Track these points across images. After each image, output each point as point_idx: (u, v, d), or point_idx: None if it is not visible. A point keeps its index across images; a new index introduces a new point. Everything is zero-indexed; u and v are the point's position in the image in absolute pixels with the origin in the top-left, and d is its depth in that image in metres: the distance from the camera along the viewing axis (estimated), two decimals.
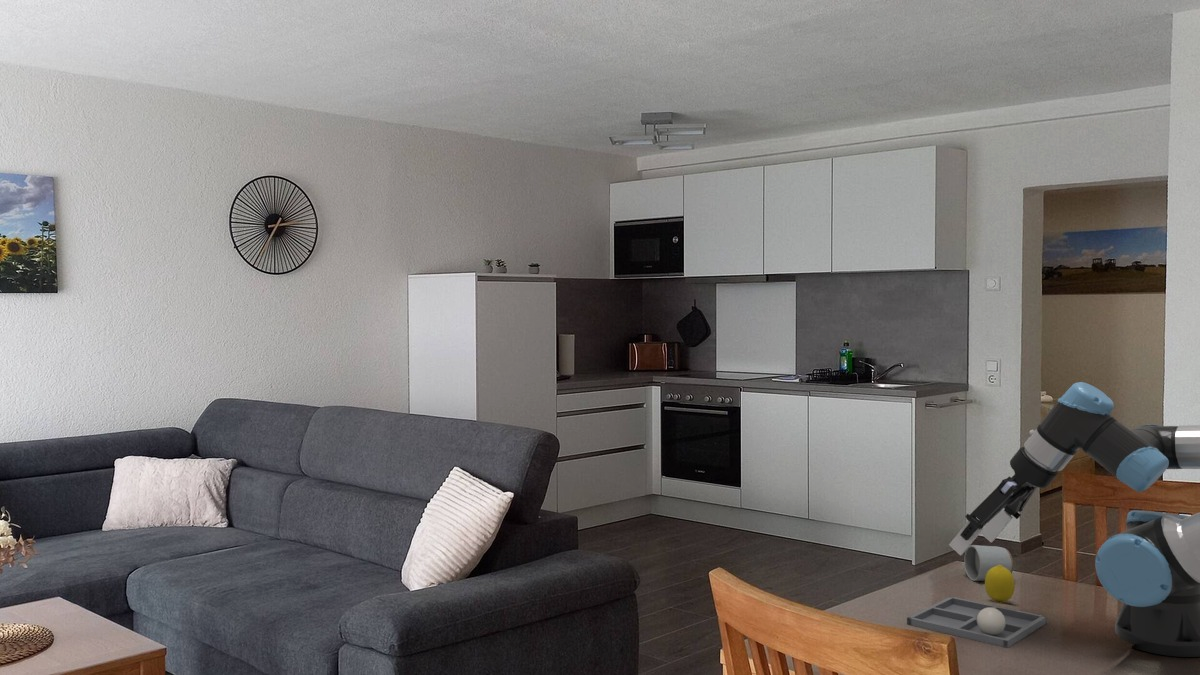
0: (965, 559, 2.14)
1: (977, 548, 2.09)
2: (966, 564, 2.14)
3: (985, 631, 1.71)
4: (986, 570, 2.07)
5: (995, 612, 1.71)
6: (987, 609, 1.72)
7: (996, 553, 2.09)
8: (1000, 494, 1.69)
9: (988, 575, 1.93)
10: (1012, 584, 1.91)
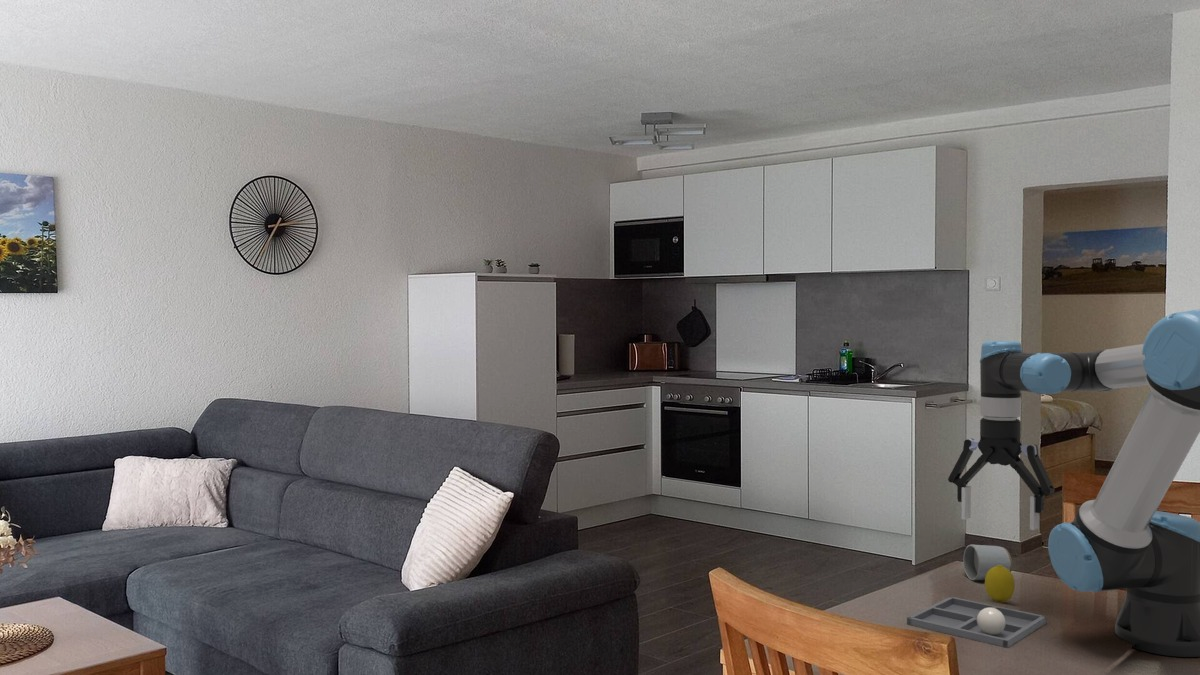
0: (964, 558, 2.15)
1: (976, 547, 2.10)
2: (965, 563, 2.15)
3: (985, 631, 1.71)
4: (985, 569, 2.08)
5: (995, 612, 1.71)
6: (987, 609, 1.72)
7: (995, 553, 2.09)
8: None
9: (988, 575, 1.93)
10: (1012, 584, 1.91)
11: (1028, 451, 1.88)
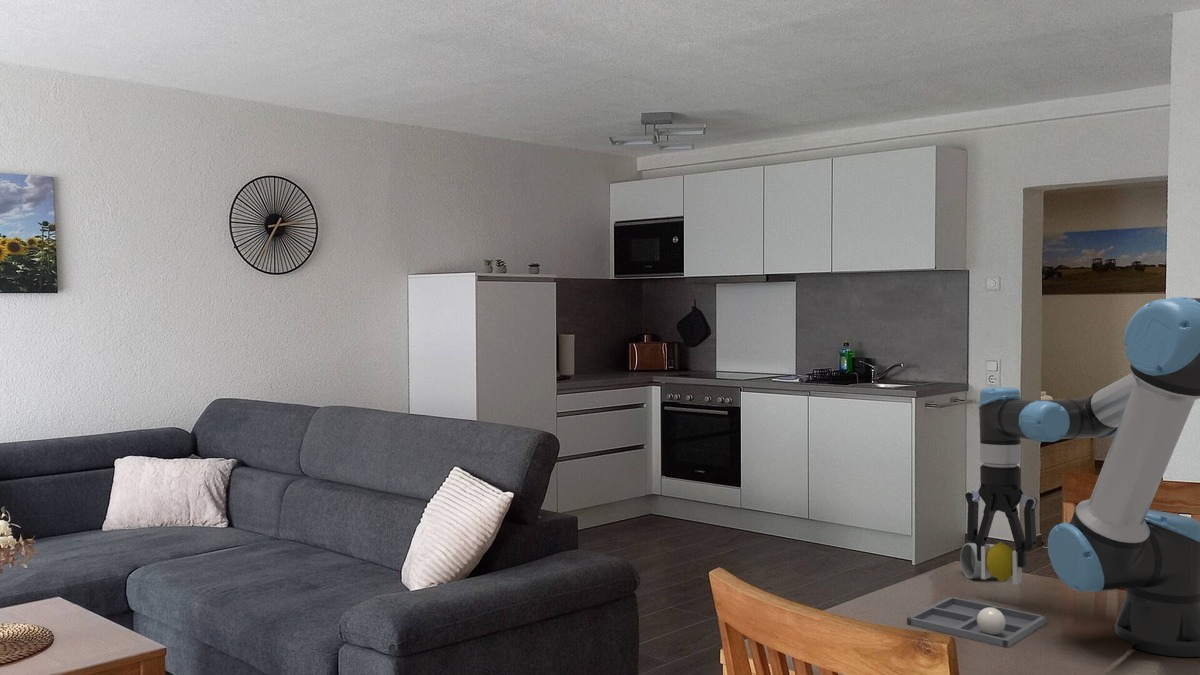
0: (961, 557, 2.16)
1: (973, 546, 2.11)
2: (962, 562, 2.16)
3: (985, 631, 1.71)
4: None
5: (995, 612, 1.71)
6: (987, 609, 1.72)
7: None
8: None
9: (990, 552, 1.92)
10: None
11: (1027, 504, 1.88)
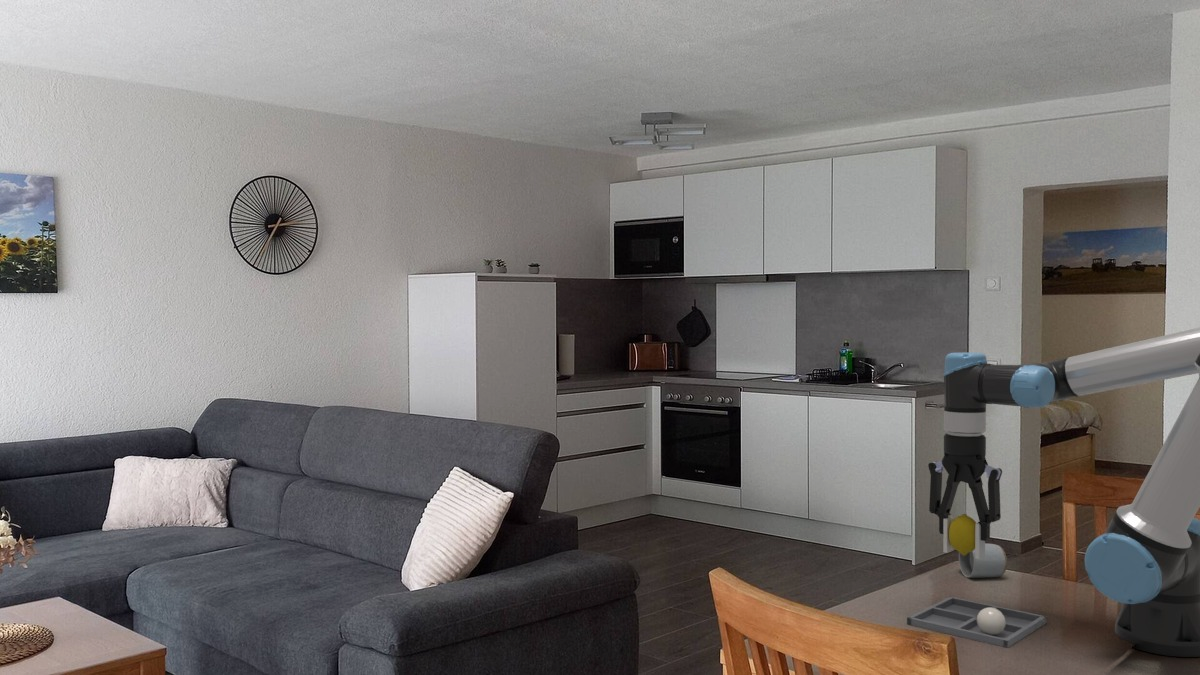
0: (959, 556, 2.17)
1: None
2: (960, 561, 2.17)
3: (985, 631, 1.71)
4: (980, 567, 2.10)
5: (995, 612, 1.71)
6: (987, 609, 1.72)
7: (990, 550, 2.11)
8: None
9: (952, 524, 1.84)
10: None
11: (991, 474, 1.79)
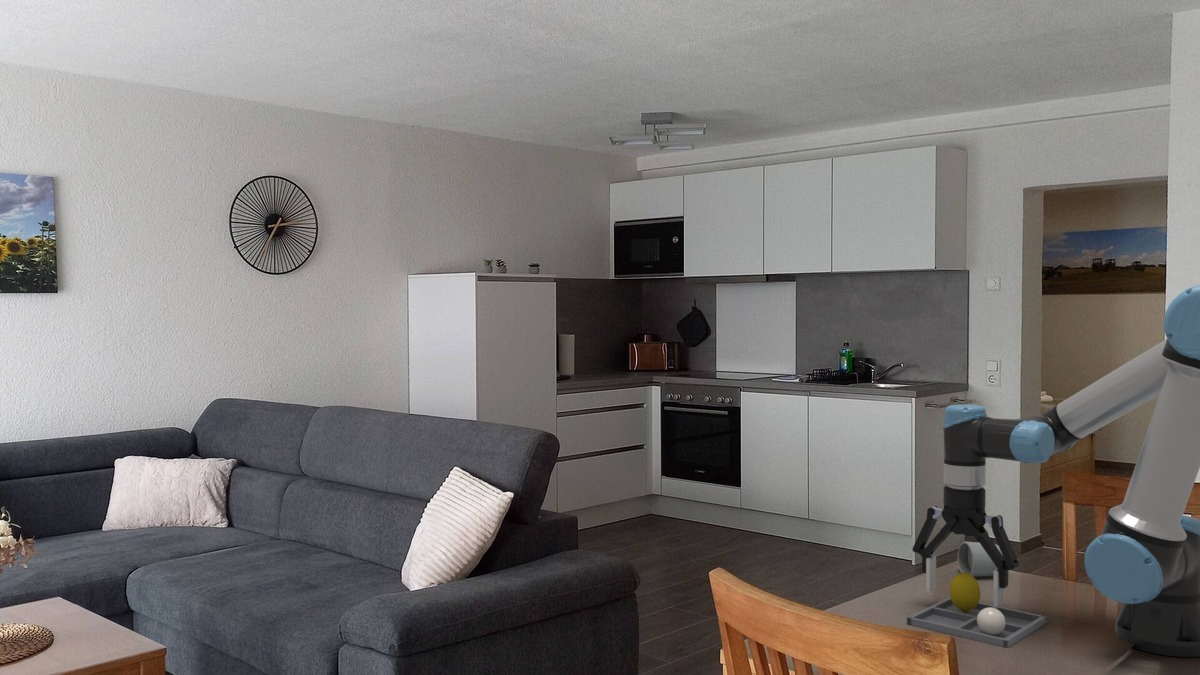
0: (958, 555, 2.18)
1: (970, 545, 2.13)
2: (959, 560, 2.17)
3: (985, 631, 1.71)
4: (979, 566, 2.11)
5: (995, 612, 1.71)
6: (987, 609, 1.72)
7: None
8: None
9: (953, 582, 1.84)
10: (977, 592, 1.82)
11: (992, 523, 1.79)
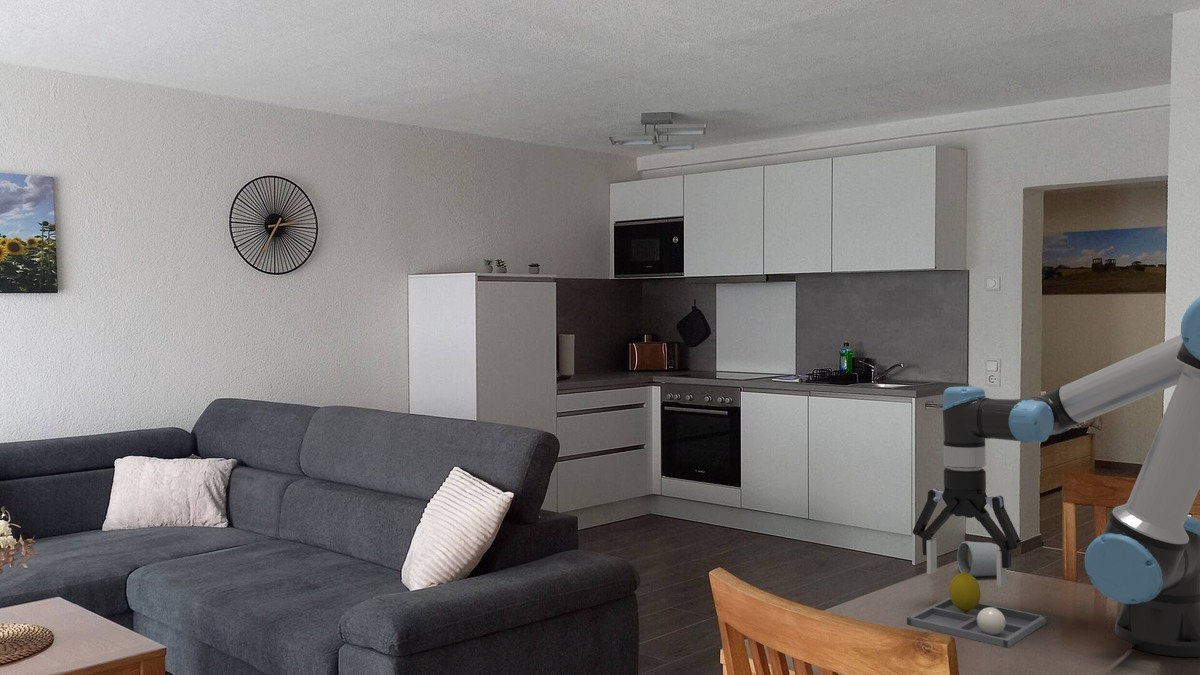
0: (958, 555, 2.18)
1: (969, 544, 2.13)
2: (959, 560, 2.18)
3: (985, 631, 1.71)
4: (978, 566, 2.11)
5: (995, 612, 1.71)
6: (987, 609, 1.72)
7: (988, 549, 2.12)
8: None
9: (953, 582, 1.84)
10: (977, 592, 1.82)
11: (993, 503, 1.79)
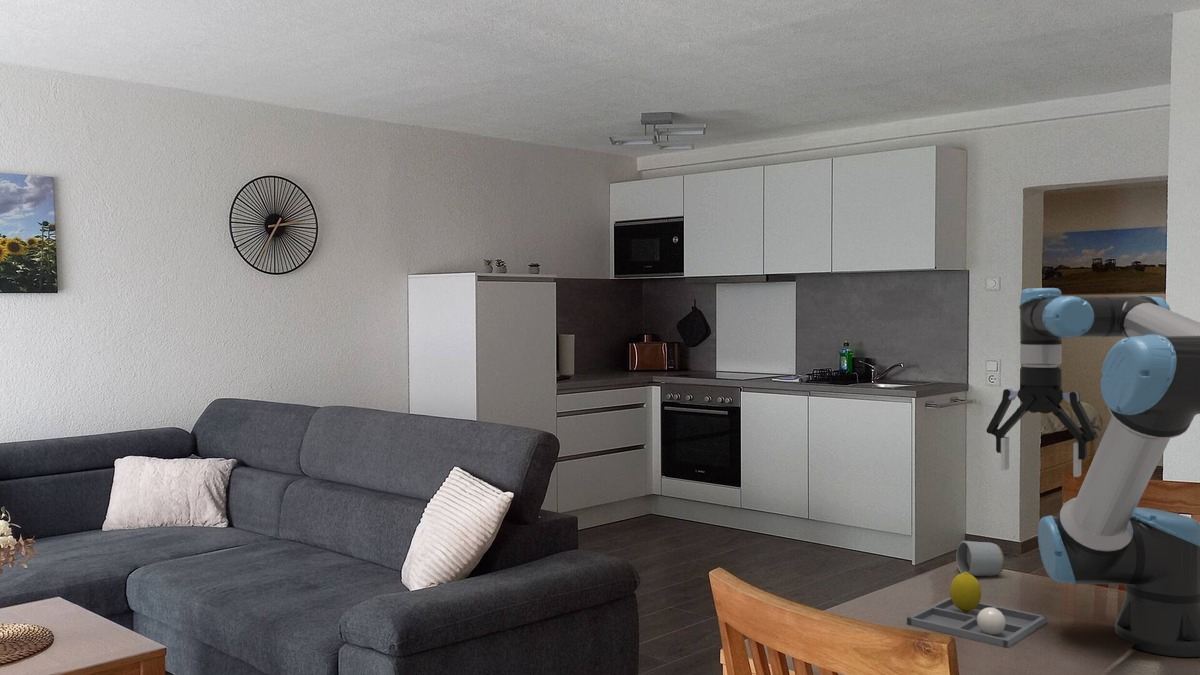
0: (957, 555, 2.18)
1: (969, 544, 2.13)
2: (958, 560, 2.18)
3: (985, 631, 1.71)
4: (977, 565, 2.11)
5: (995, 612, 1.71)
6: (987, 609, 1.72)
7: (987, 549, 2.13)
8: None
9: (954, 582, 1.84)
10: (978, 592, 1.82)
11: (1071, 397, 1.87)
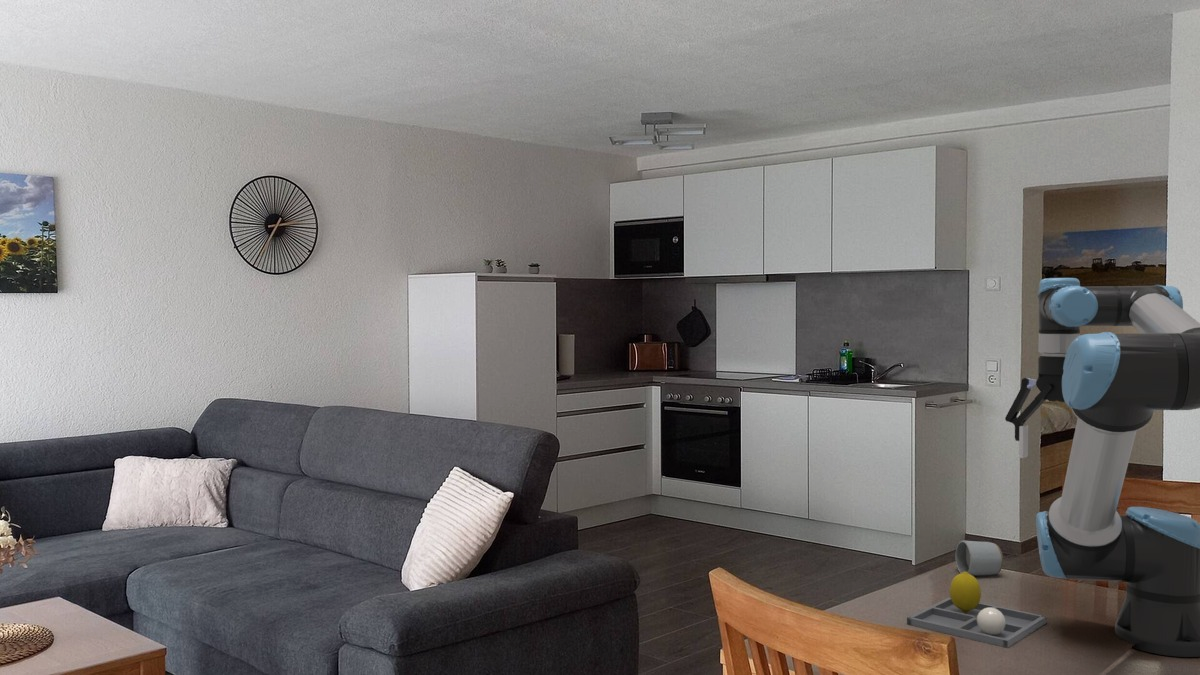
0: (956, 554, 2.19)
1: (968, 543, 2.14)
2: (957, 559, 2.19)
3: (985, 631, 1.71)
4: (976, 565, 2.12)
5: (995, 612, 1.71)
6: (987, 609, 1.72)
7: (986, 548, 2.13)
8: None
9: (954, 582, 1.84)
10: (978, 592, 1.82)
11: None
